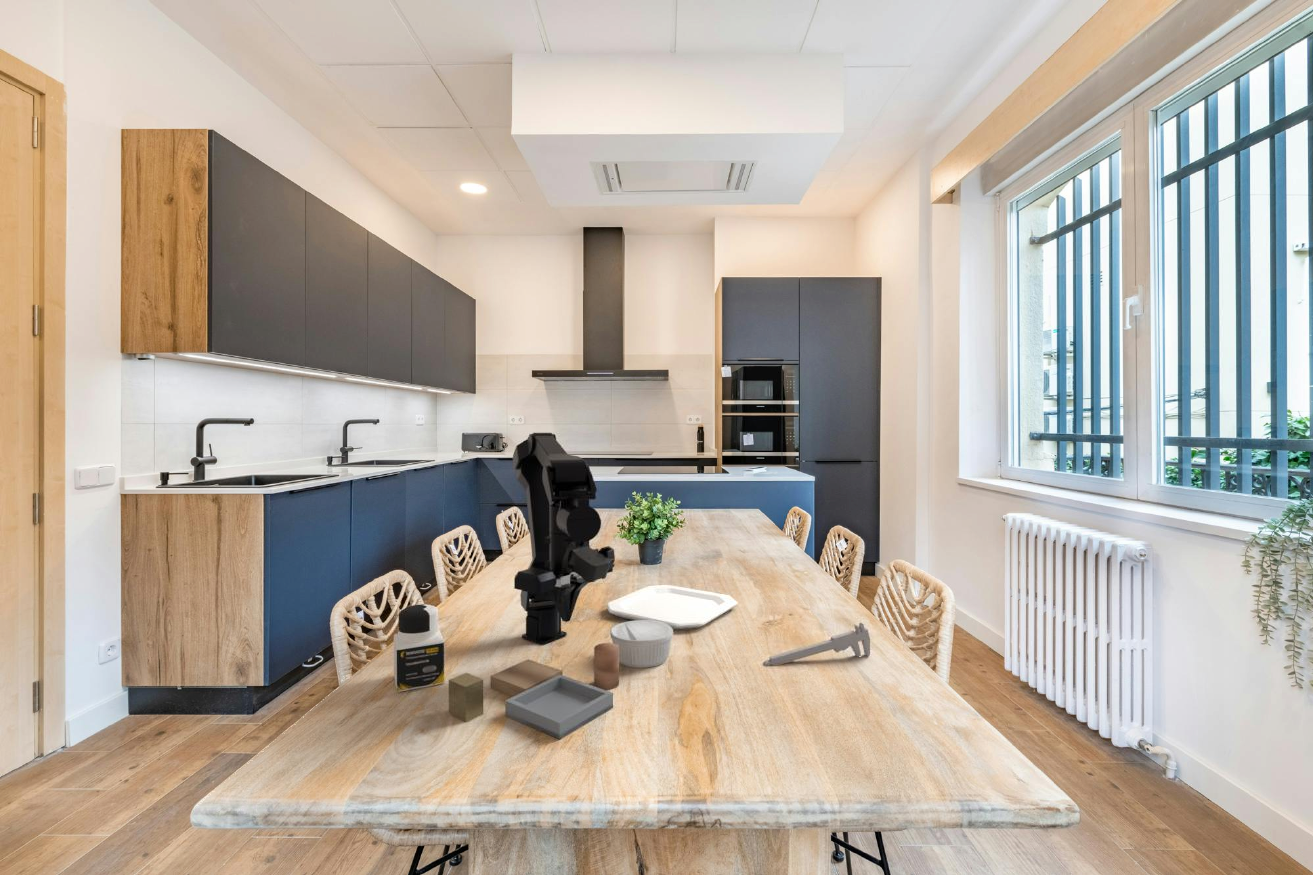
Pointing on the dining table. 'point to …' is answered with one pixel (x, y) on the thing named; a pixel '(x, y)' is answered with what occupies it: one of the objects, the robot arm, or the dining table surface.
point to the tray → (559, 705)
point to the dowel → (606, 666)
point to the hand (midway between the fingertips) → (566, 621)
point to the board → (522, 677)
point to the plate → (672, 606)
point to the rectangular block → (466, 697)
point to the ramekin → (642, 642)
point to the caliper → (827, 646)
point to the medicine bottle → (418, 649)
